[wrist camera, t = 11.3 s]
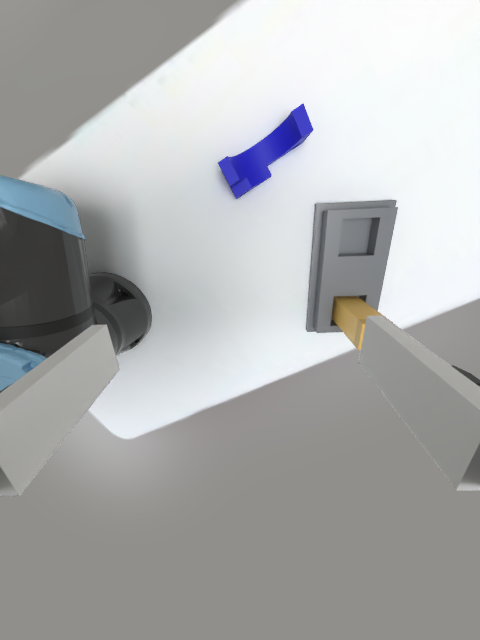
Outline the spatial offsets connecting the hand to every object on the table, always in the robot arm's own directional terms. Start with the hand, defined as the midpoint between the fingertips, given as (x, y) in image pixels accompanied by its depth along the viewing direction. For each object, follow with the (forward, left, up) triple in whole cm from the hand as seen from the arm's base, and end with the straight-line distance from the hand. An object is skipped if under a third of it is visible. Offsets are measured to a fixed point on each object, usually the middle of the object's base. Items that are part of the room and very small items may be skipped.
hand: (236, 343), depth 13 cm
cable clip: (+4, +13, -32) cm, 35 cm away
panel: (+18, -4, -32) cm, 37 cm away
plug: (+18, -10, -31) cm, 37 cm away
